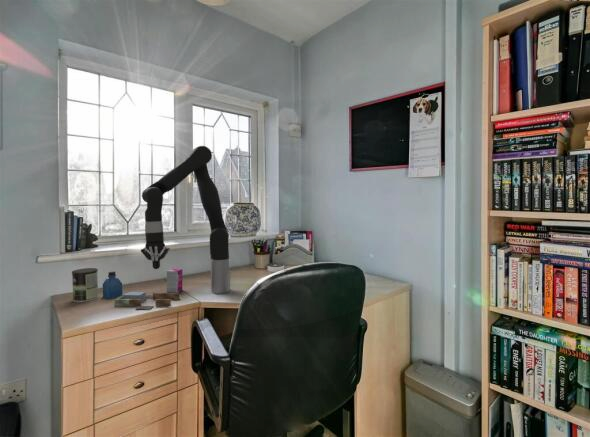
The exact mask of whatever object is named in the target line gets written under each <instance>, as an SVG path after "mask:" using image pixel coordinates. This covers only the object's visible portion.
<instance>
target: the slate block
mask: <svg viewBox="0 0 590 437" xmlns="http://www.w3.org/2000/svg"><path fill="white" fill-rule="evenodd" d="M146 295H147V294H146V291H128V292H126V293H124V294H122V296H123V299H141V303H143V302H145V301H147V299H146Z"/></svg>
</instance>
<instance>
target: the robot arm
mask: <svg viewBox="0 0 590 437" xmlns="http://www.w3.org/2000/svg"><path fill="white" fill-rule="evenodd" d="M212 156H213V153H212V150H211V149H210V148H209V147H207V146H205V145H199V146H197V147H195V148H193V149H192V150H191V151H190V152H189V155H188V157H187V158H186V159H185V160H184V161H183V162H180V164H178V165H176V166H175V167H173V169H171V170H169V171H168V172H167V173H166V174H164V175H163V176H162V177H160V178H159V180H157V181H155V182H154V183H152V184H150V185H149V186H147V187H146V188H145V189H144V190H143V191H142V193H141V198H142V200H143V202H145V203H146V209H145V211H144V221H145V222H144V224H145V225H144V231H145V233H144V234H145V244H144V245H145V246H144V247H143V248H142V249H140V252H141V253H142V255H143V256H144V257H145V258H146V259H147V260H148V261H152V263H151V264H152V268H153V269H154V270H158V269H160V268H161V260H163V259H165V257H166V255H167V254H168V252H169V251H170V250H171V248H170V247H167V246H166V244H165V240H164V239H165V238H164V236H165V235H164V224H163V214H162V211H163V210H162V209H163V205H164V204H163V202H164V196H163V195H165V194H166V193H168V192H170V191H172V190H173V189H174V188H176V187H177V186H178V185H179V184H181V183H182V182H183V181H184V180H185V179H186V178H187V177H188V176H189V175H191V174H192V173H193V174H194V177H195V180H196V183H197V189H198V193H199V197H200V201H201V204H202V208H203V211H204V213H205V215H206V217H207V219H208V221H209V227H210V234H209V254H210V283H211V285H210V292H211V293H212V294H217V295H220V294H228V293H229V292H230V291H231V290H232V289H231V272H230V253H229V237H230V234H229V232H228V228H227V226H226V223H225V221H224V220H225V219H224V217H223V211H222V203H221V197H220V195H219V191H218V188H217V186H216V184H215V182H214V181H213V180H212V178H211V176H210V174H209V173H210V172H209V170H208V165H207V164H208V163H210V162H211V160H212Z"/></svg>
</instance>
